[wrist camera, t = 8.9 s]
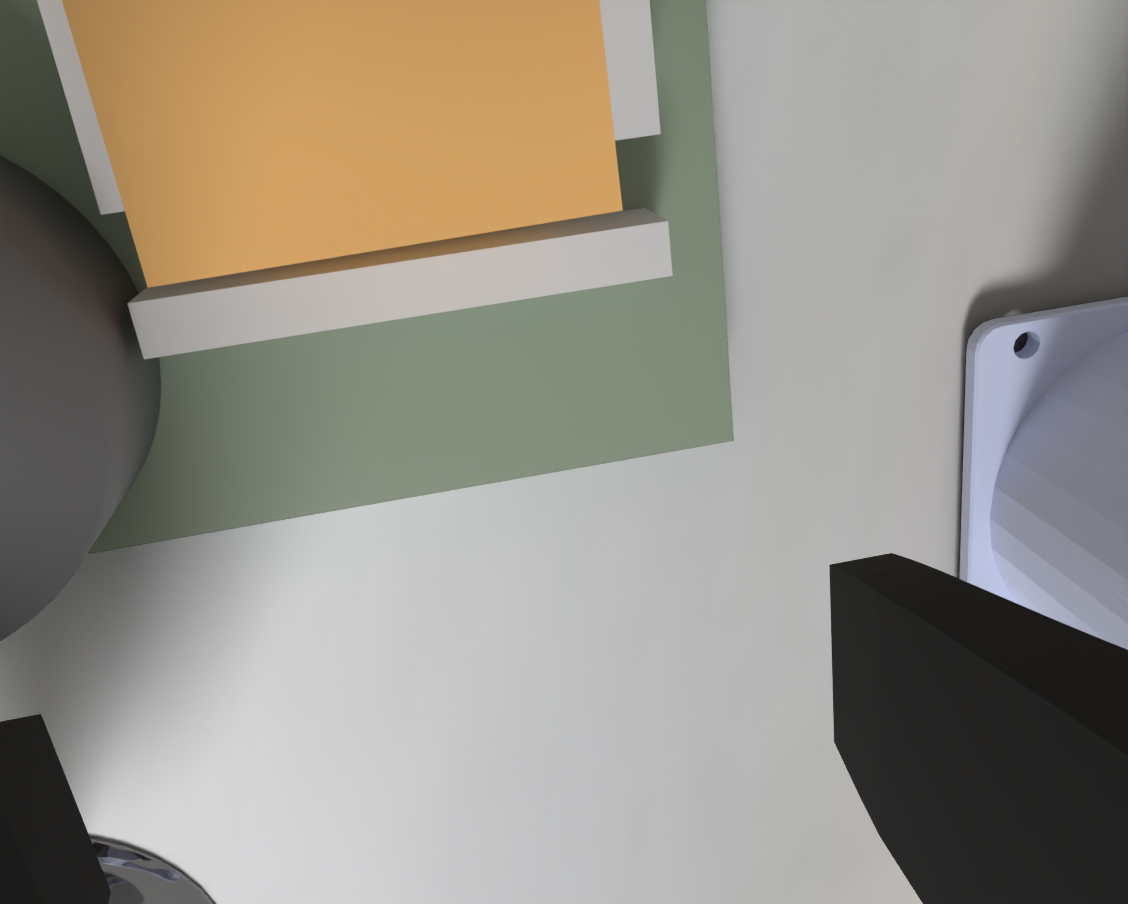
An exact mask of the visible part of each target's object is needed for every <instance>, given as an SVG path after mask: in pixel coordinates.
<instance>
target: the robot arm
mask: <svg viewBox="0 0 1128 904" xmlns="http://www.w3.org/2000/svg"><path fill="white" fill-rule="evenodd" d="M1025 332H1027V336H1028V339H1027V342H1026V345H1025V346H1024V347H1023V348H1022V349H1021V351H1018V352H1016V353H1014V348H1013V347H1014V344H1015V340H1016V339H1017V338H1018V337H1019V336H1020V335H1021V334H1023V333H1025ZM830 597H831V636H832V674H833V712H834V742H835V744H836V747H837V749H838V751H839V753H840V755H841V757H842V759H843V761H844V764H845V766H846V768H847V770H848V772H849V774H850V776H851V779H852V781H853V783H854V785H855V787H856V789H857V791H858V794H859V796H860V798H861V800H862V802H863V804H864V806H865V808H866V810H867V812H868V814H869V816H870V818H871V820H872V822H873V824H874V826H875V828H876V830H877V832H878V834H879V835H880V837H881V839H882V840H883V842H884V843H885V845H886V847H887V848H888V850H889V851H890V853H891V855H892V856H893V858H894V859H895V861H896V862H897V864H898V866H899V867H900V869H901V870H902V872H903V873H904V875H905V876H906V878H907V879H908V881H909V883H910V884H911V886H912V887H913V889H914V890H915V892H916V893H917V895H918V897H919V898H920V900H921V901H922V903H923V904H1128V297H1122V298H1116V299H1110V300H1104V301H1098V302H1092V303H1086V304H1080V305H1074V306H1068V307H1062V308H1056V309H1050V310H1044V311H1038V312H1032V313H1026V314H1020V315H1014V316H1009V317H1003V318H997V319H992V320H989V321H986V322H983V323H982V324H981V325H980V326H978V327H977V328H976V329H975V330H974V331H973V333H972V335H971V336H970V338H969V340H968V345H967V352H966V385H965V418H964V450H963V483H962V516H961V549H960V579H958V578H956V577H954V576H951V575H949V574H946V573H944V572H942V571H939V570H937V569H934V568H932V567H929V566H927V565H924V564H922V563H919V562H916V561H913V560H911V559H908V558H905V557H902V556H899V555H896V554H892V553H890V554H885V555H879V556H874V557H869V558H863V559H858V560H853V561H848V562H842V563H837V564H832V565H830ZM110 893H111V890H110V888H109V885H108V883H107V880H106V878H105V875H104V873H103V870H102V868H101V865H100V863H99V860H98V857H97V855H96V852H95V850H94V847H93V845H92V842H91V840H90V837H89V835H88V832H87V830H86V827H85V825H84V822H83V819H82V817H81V814H80V812H79V809H78V807H77V804H76V802H75V799H74V797H73V794H72V792H71V789H70V787H69V784H68V781H67V779H66V776H65V774H64V771H63V769H62V766H61V764H60V761H59V759H58V756H57V754H56V751H55V749H54V746H53V743H52V741H51V738H50V736H49V733H48V731H47V728H46V726H45V723H44V721H43V718H42V716H41V714H39V715H33V716H28V717H23V718H18V719H12V720H7V721H2V722H0V904H109V899H110Z"/></svg>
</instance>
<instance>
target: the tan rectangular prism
mask: <svg viewBox="0 0 1128 904" xmlns="http://www.w3.org/2000/svg"><path fill="white" fill-rule="evenodd" d="M62 3H63V6H64V9H65V13H66V16H67V19H68V23H69V26H70V30H71V33H72V36H73V40H74V43H75V46H76V50H77V53H78V56H79V60H80V63H81V66H82V70H83V73H84V76H85V80H86V83H87V86H88V90H89V93H90V96H91V100H92V103H93V106H94V110H95V113H96V116H97V120H98V123H99V126H100V130H101V133H102V136H103V140H104V143H105V146H106V150H107V153H108V156H109V160H110V163H111V166H112V170H113V173H114V176H115V180H116V183H117V186H118V190H119V193H120V196H121V200H122V203H123V206H124V210H125V213H126V216H127V220H128V223H129V226H130V230H131V233H132V236H133V240H134V243H135V246H136V250H137V253H138V257H139V260H140V263H141V267H142V270H143V273H144V277H145V280H146V283H147V287H148V288H149V287H155V286H161V285H168V284H174V283H180V282H186V281H192V280H198V279H205V278H211V277H217V276H223V275H229V274H235V273H241V272H248V271H254V270H260V269H266V268H272V267H278V266H285V265H291V264H297V263H303V262H309V261H315V260H322V259H328V258H334V257H340V256H346V255H352V254H358V253H365V252H371V251H377V250H383V249H389V248H395V247H402V246H408V245H414V244H420V243H426V242H432V241H438V240H445V239H451V238H457V237H463V236H469V235H475V234H482V233H488V232H494V231H500V230H506V229H512V228H518V227H525V226H531V225H537V224H543V223H549V222H555V221H562V220H568V219H574V218H580V217H586V216H592V215H599V214H605V213H611V212H617V211H623V209H622V200H621V191H620V182H619V173H618V164H617V155H616V146H615V137H614V128H613V119H612V110H611V101H610V92H609V83H608V74H607V65H606V56H605V47H604V38H603V29H602V20H601V11H600V2H599V0H62Z"/></svg>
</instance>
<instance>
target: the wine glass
mask: <svg viewBox="0 0 1128 904" xmlns="http://www.w3.org/2000/svg"><path fill="white" fill-rule="evenodd" d="M90 840H91V842H92V845H93V847H94V850H95V852H96V855H97V857H98V860H99V863H100V865H101V868H102V870H103V873H104V875H105V878H106V880H107V883H108V885H109V888H110V890H111V893H110V899H109V904H214V903H213V902H212V901H211V900H210V898H209V897H208V896H207V895H206V894H205V892H204V891H203V890H202V889H201V888H200V887H199V886H198V885H196V884H195V883H194V882H193V881H192V880H190V879H189V878H188V877H187V876H185V875H184V874H183V873H182V872H181V871H179V870H177V869H176V868H174V867H172V866H170V865H169V864H167V863H165V862H163V861H162V860H160V859H158V858H156V857H155V856H152V855H149V854H147V853H144V852H142V851H139V850H137V849H134V848H131V847H129V846H126V845H122V844H118V843H113V842H109V841H105V840H101V839H96V838H90Z"/></svg>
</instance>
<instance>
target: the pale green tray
mask: <svg viewBox="0 0 1128 904" xmlns="http://www.w3.org/2000/svg"><path fill="white" fill-rule="evenodd" d="M599 2H600V11H601V20H602V29H603V38H604V47H605V56H606V65H607V74H608V83H609V92H610V101H611V110H612V119H613V128H614V137H615V146H616V155H617V164H618V173H619V182H620V191H621V200H622V209H623V211H617V212H611V213H605V214H599V215H592V216H586V217H580V218H574V219H568V220H562V221H555V222H549V223H543V224H537V225H531V226H525V227H518V228H512V229H506V230H500V231H494V232H488V233H482V234H475V235H469V236H463V237H457V238H451V239H445V240H438V241H432V242H426V243H420V244H414V245H408V246H402V247H395V248H389V249H383V250H377V251H371V252H365V253H358V254H352V255H346V256H340V257H334V258H328V259H322V260H315V261H309V262H303V263H297V264H291V265H285V266H278V267H272V268H266V269H260V270H254V271H248V272H241V273H235V274H229V275H223V276H217V277H211V278H205V279H198V280H192V281H186V282H180V283H174V284H168V285H161V286H155V287H149V288H148V287H147V283H146V280H145V277H144V273H143V270H142V267H141V263H140V260H139V257H138V253H137V250H136V246H135V243H134V240H133V236H132V233H131V230H130V226H129V223H128V220H127V216H126V213H125V210H124V206H123V203H122V200H121V196H120V193H119V190H118V186H117V183H116V180H115V176H114V173H113V170H112V166H111V163H110V160H109V156H108V153H107V150H106V146H105V143H104V140H103V136H102V133H101V130H100V126H99V123H98V120H97V116H96V113H95V110H94V106H93V103H92V100H91V96H90V93H89V90H88V86H87V83H86V80H85V76H84V73H83V70H82V66H81V63H80V60H79V56H78V53H77V50H76V46H75V43H74V40H73V36H72V33H71V30H70V26H69V23H68V19H67V16H66V13H65V9H64V6H63V3H62V0H0V641H1V640H3V639H5V638H6V637H7V636H9V635H10V634H12V633H13V632H15V631H16V630H17V629H19V628H20V627H22V626H23V625H25V624H26V623H27V622H29V621H30V620H31V619H33V618H34V617H35V616H36V615H37V614H38V613H39V612H40V611H41V610H42V609H43V608H44V607H45V606H46V605H48V604H49V603H50V602H51V601H52V600H53V599H54V598H55V597H56V595H57V594H58V593H59V592H60V590H61V589H62V588H63V586H64V585H65V584H66V583H67V581H68V580H69V579H70V578H71V576H72V575H73V574H74V572H75V571H76V569H77V568H78V566H79V565H80V563H81V562H82V560H83V559H84V557H85V556H86V554H90V553H96V552H102V551H107V550H113V549H119V548H124V547H130V546H136V545H141V544H147V543H153V542H159V541H164V540H170V539H176V538H181V537H187V536H193V535H199V534H204V533H210V532H216V531H221V530H227V529H233V528H238V527H244V526H250V525H256V524H261V523H267V522H273V521H278V520H284V519H290V518H296V517H301V516H307V515H313V514H318V513H324V512H330V511H335V510H341V509H347V508H353V507H358V506H364V505H370V504H375V503H381V502H387V501H393V500H398V499H404V498H410V497H415V496H421V495H427V494H433V493H438V492H444V491H450V490H455V489H461V488H467V487H472V486H478V485H484V484H490V483H495V482H501V481H507V480H512V479H518V478H524V477H530V476H535V475H541V474H547V473H552V472H558V471H564V470H569V469H575V468H581V467H587V466H592V465H598V464H604V463H609V462H615V461H621V460H627V459H632V458H638V457H644V456H649V455H655V454H661V453H666V452H672V451H678V450H684V449H689V448H695V447H701V446H706V445H712V444H718V443H724V442H729V441H734V436H733V420H732V405H731V389H730V374H729V358H728V343H727V327H726V311H725V296H724V280H723V265H722V249H721V234H720V218H719V203H718V187H717V172H716V156H715V141H714V125H713V109H712V94H711V78H710V63H709V47H708V32H707V16H706V1H705V0H599Z"/></svg>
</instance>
